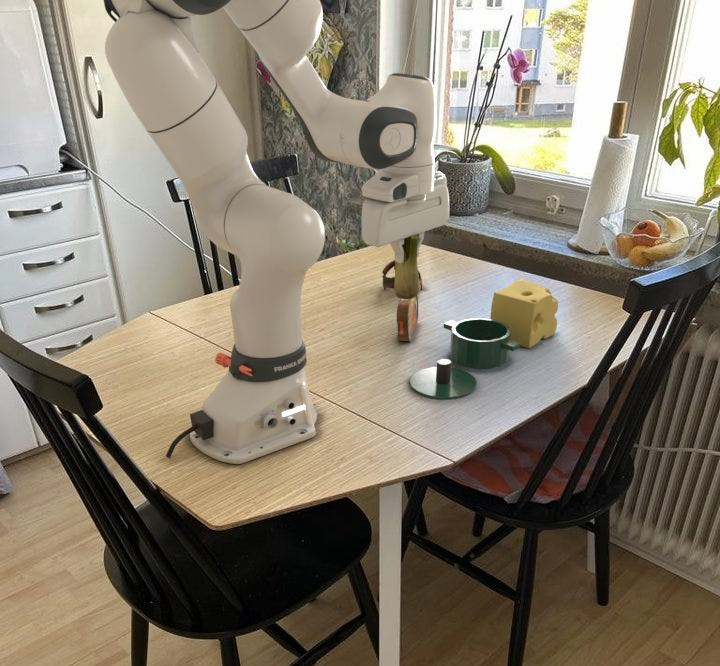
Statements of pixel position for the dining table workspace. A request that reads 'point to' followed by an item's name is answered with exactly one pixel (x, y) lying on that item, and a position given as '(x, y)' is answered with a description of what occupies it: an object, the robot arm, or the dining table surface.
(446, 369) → the lid
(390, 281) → the brown rounded piece
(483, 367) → the pot
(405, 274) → the fennel bulb
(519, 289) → the cheese
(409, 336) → the tin
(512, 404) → the dining table surface
